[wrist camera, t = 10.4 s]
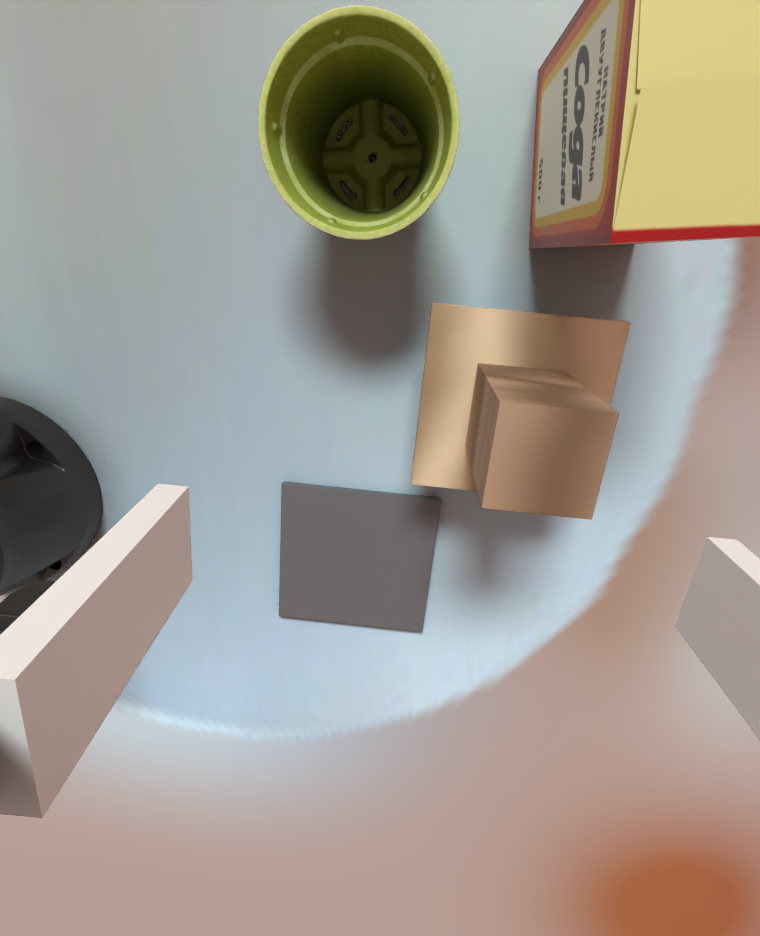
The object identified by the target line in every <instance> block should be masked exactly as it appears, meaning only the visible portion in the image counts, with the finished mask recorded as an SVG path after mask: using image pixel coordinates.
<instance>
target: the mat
mask: <svg viewBox="0 0 760 936" xmlns="http://www.w3.org/2000/svg"><path fill="white" fill-rule="evenodd" d="M440 502H441V501H440V498H435V497H425V496H416V495H406V494H397V493H387V492H378V491H368V490H359V489H349V488H340V487H330V486H321V485H311V484H302V483H292V482H283V483H282V499H281V544H280V590H279V616H282V617H291V618H300V619H309V620H318V621H327V622H336V623H345V624H354V625H362V626H371V627H380V628H389V629H398V630H407V631H416V632H422V629H423V622H424V615H425V608H426V601H427V594H428V587H429V580H430V573H431V566H432V559H433V552H434V544H435V537H436V530H437V523H438V516H439V509H440Z"/></svg>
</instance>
